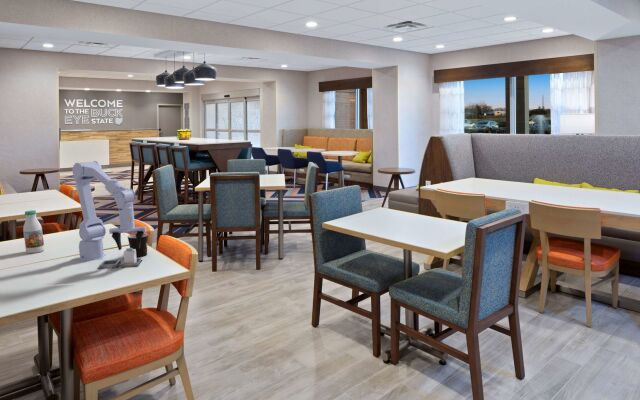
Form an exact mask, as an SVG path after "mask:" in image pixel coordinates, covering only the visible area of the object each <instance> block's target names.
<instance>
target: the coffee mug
mask: <svg viewBox="0 0 640 400" xmlns="http://www.w3.org/2000/svg"><path fill="white" fill-rule="evenodd" d="M148 237H149V234H148V233H146V232H144V234H143V237H142V240H141V244H140V249H137V238H136V233H132V234H129V235H127V240H128V245H129V248H133V249H136V258H137V259H140V258H143V257H146V256H147V255H148Z"/></svg>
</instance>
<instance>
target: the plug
mask: <svg viewBox="0 0 640 400" xmlns="http://www.w3.org/2000/svg"><path fill="white" fill-rule="evenodd" d="M123 259H124V260H123V261H125V263H136V262H137V259H138V258H136V249H133V248H130V247H127V248H126V249H125V250H124V251H123Z"/></svg>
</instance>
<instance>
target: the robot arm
mask: <svg viewBox="0 0 640 400" xmlns="http://www.w3.org/2000/svg"><path fill="white" fill-rule="evenodd" d="M71 169H72V176H73V179H74V180H73V181H74V182H75V184H76V189H77V193H78V194H77V195H78V198H79V202H80V203H79V204H80V208H81V213H82V217H83V220H82V221H81V222H80V223H79V225H78V227H79V229H78V230H79V231H78V234H79V237H80V239H81V240H80V241H79V243H78V250H79V251H78V253H79V261H80V262H81V261H97V260H98V261H99V260H103V259H104V258H105V257H106V256H107V254H104V253H105V251H104V243H103V239H104V238H105V237H104V236H105V235H106V233H107V232H106V231H107V228H106V226H105V225H104V222H103V220H102V219H100V218H99V217H97V212H96V208H95V202H94V198H93V193H92V189H91V182H92V180H94V179H96V180H98V181H99V182H100V183H102V185H104V188H105V190H106V191H107V192H108V193H109V194H111V195H112V196H113V198H114V199H113V200H114V202H115V203H116V207H117V209H118V218H119V225H120V226H119V227H113V228H109V229H108V230H109V231H108V232H109V235H111V238H112V239H113V241H115V243H116V246H117V249H118V251H121V250H122V248H123V247H122V240H121V239H122V235H121V234H122V233H123V234H125V233H135V234H136V238H137V249H140V244H141V240H142V237H143V234H144V233H146V232H147V227H146V226H135V213H134V212H135V211H134V202H135V200H136V192H135V191H134V190H133V188H128V187H127V188H126V187H125V186H124V185H122V184H121V182H119V180H118V179H115V178H113V179H112V178H110V176H109V175H107V173H106V172H105V171H104V170H103V168H102V165H101V163H99V162H98V161H97V160H93V161H85V162H75V163H74V164H73V166H72V168H71Z"/></svg>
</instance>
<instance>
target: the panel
mask: <svg viewBox="0 0 640 400" xmlns="http://www.w3.org/2000/svg"><path fill="white" fill-rule="evenodd" d="M141 258H142V257H139V258H137V262H136V263H125V261H124V260H121V259H112V260H111V259H110V260H104V261H102V262H101V263H100V264H99V267H98V269H97V270H98V271H99V270H113V269H114V270H115V269H128V268H129V269H130V268H138V267H139V266H140V265H141V263H142V262H143V259H141Z"/></svg>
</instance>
